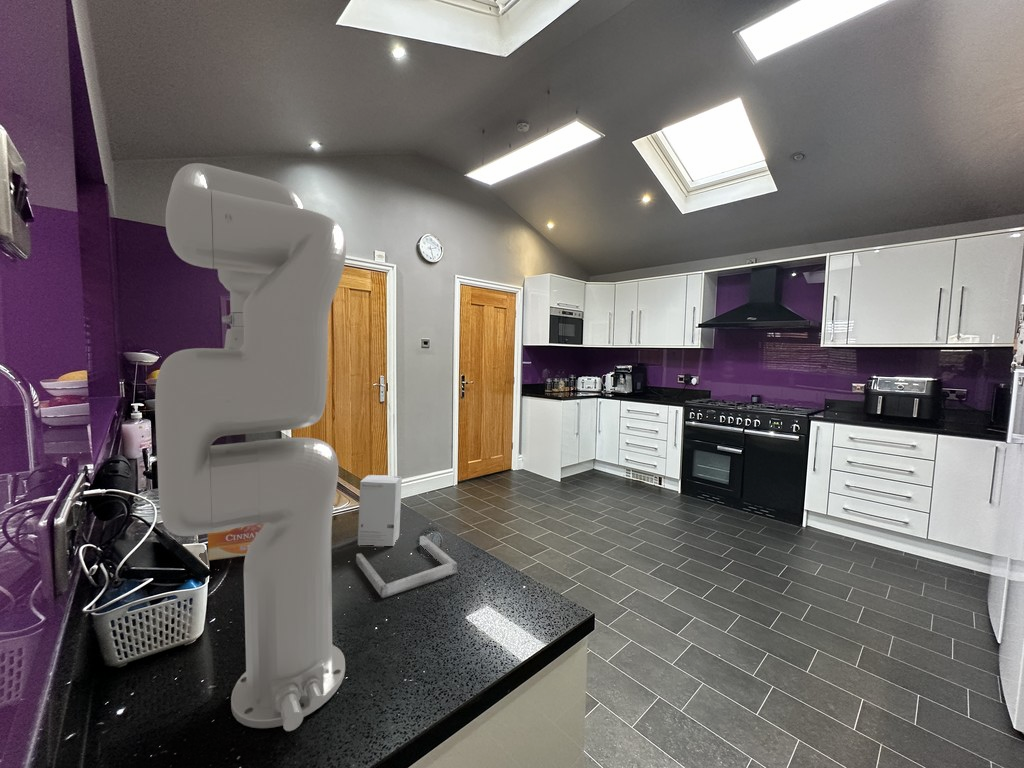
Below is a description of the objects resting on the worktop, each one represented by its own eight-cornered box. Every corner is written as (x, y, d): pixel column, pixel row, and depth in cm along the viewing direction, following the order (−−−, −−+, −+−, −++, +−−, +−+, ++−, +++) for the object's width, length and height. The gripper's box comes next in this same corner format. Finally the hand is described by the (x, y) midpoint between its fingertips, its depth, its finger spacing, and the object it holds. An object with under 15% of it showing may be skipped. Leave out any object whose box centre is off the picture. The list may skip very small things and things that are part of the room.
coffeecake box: (207, 565, 80) (204, 470, 79) (216, 549, 87) (213, 461, 85) (292, 552, 86) (290, 463, 85) (295, 538, 93) (293, 455, 91)
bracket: (456, 572, 79) (457, 563, 79) (382, 599, 70) (382, 588, 70) (423, 543, 91) (423, 535, 91) (356, 563, 82) (356, 554, 82)
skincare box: (357, 547, 89) (356, 481, 88) (366, 535, 95) (365, 473, 94) (395, 547, 89) (395, 482, 88) (401, 535, 95) (402, 474, 94)
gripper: (201, 319, 75) (204, 410, 76) (302, 325, 86) (304, 404, 88) (199, 321, 81) (201, 405, 82) (294, 326, 92) (295, 400, 93)
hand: (254, 404), depth 85 cm, fingers open, 9 cm apart
